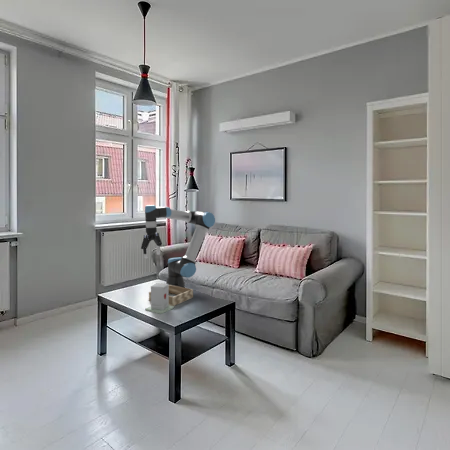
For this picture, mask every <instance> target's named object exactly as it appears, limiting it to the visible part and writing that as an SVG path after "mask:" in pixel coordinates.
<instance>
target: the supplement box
mask: <svg viewBox="0 0 450 450" xmlns="http://www.w3.org/2000/svg"><path fill="white" fill-rule="evenodd" d="M150 292H151V301H150V307H151V309H158V310H164V309H165V308H166V307H168V306H169V296H170V295H169V294H170V293H169V284H166V283H159V282H155V283H154V284H152V285H151V286H150Z"/></svg>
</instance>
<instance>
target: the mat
mask: <svg viewBox="0 0 450 450" xmlns="http://www.w3.org/2000/svg"><path fill="white" fill-rule="evenodd" d="M174 308H175V306H171V305H169V306H168V307H166V308H165V309H164V310H158V309H151V306H149V307H146V308H145V311H147V312H151V313H155V314H159V315H161V314H164V313H166V312H168V311H170V310H173V309H174Z"/></svg>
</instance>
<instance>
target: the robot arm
mask: <svg viewBox="0 0 450 450" xmlns="http://www.w3.org/2000/svg"><path fill="white" fill-rule="evenodd" d="M144 215H145V217H144V218H145V233H146V234H144V235H143V240H142V243H141V246H140V249H141V250H143V251H142V252H143V259H147V260H148V258H149V252H148V250H149V249H148V247H149V245H150V242H151V241H154V243H155V244H156V246H155V247H156V255H157V256H160V255H161V246H162V245H163V242H162V240H161V237H160V232H158V231H157V230H158V227H157V219H168V220H174V221H175V220H177V221H181V222H185V223H187V224H192V225H194V226H195V230H194V232H193V234H192V236H191V239H190V242H189V244H188V247H187V249H186V252H185V254H184V256H181V257H170V258H168V260H167V279H166V281H165V282H166V283H165V284H169V285H173V286H178V287H183V288H185V286H186V283H185V279H184V278H187V279H188V278H191V277H193V276H194V275H195V273H196V272H197V266H196V264H197V262H196V258H197V255H198V253H199V251H200V248H201V246H202V243H203V240H204V238H205V236H206V233H207V232H208V231H210V228H212V227H213V226H214V225H215V223H216V218H215V215H214V213H212V212H211V211H201V210H196V211H195V210H187V211H184V210H178V209H172V208H171V207H170V206H156V205H155V204H146V205H145V206H144Z"/></svg>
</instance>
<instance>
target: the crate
mask: <svg viewBox="0 0 450 450" xmlns="http://www.w3.org/2000/svg"><path fill="white" fill-rule="evenodd" d="M169 294H170V295H169V305H170V306H174V307H175V306H177V305H180V304H181V303H184V302H187V301H188V300H190V299H193V298H194V289H193V288H188V287H178V286H173V285H169ZM171 294H173V295H174V296H171ZM148 301H150V302H151V291H149V292H148Z"/></svg>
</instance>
